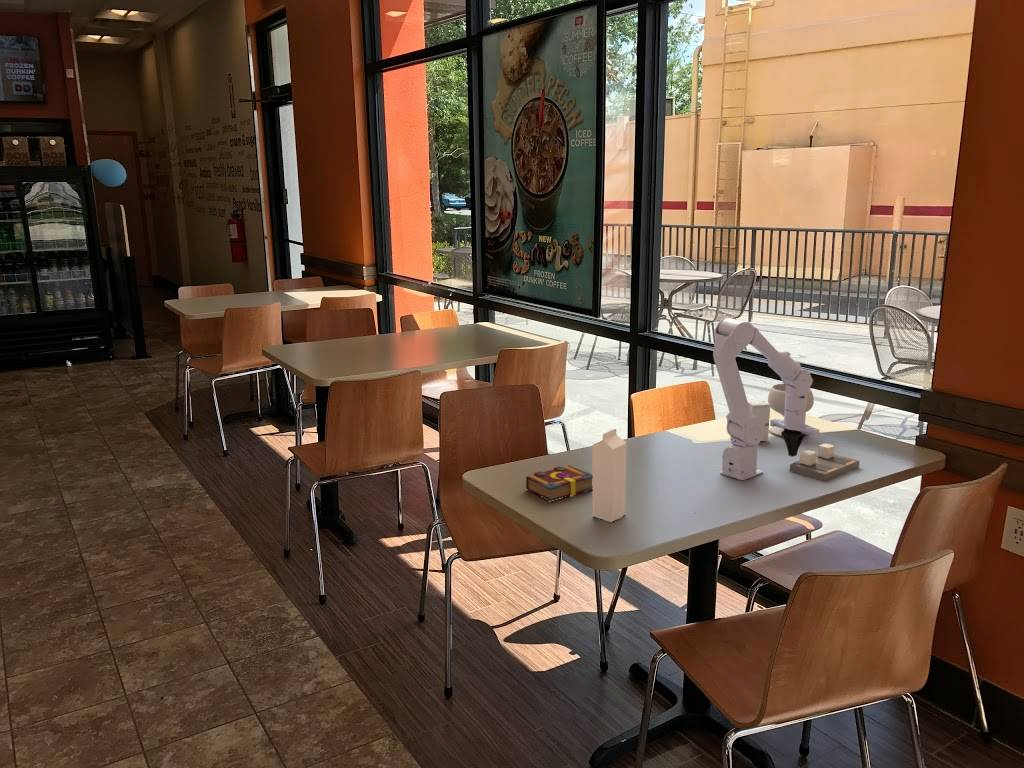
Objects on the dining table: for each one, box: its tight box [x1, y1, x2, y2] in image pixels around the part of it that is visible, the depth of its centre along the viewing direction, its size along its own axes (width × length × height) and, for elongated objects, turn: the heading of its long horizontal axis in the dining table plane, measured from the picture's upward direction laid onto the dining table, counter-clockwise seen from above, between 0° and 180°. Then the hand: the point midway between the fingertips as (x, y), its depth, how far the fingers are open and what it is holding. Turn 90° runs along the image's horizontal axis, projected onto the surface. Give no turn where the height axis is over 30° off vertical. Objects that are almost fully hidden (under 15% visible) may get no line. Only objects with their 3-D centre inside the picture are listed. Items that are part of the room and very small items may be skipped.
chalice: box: [767, 383, 815, 437], centre depth 266 cm, size 14×14×15 cm
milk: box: [592, 428, 627, 521], centre depth 202 cm, size 6×6×22 cm
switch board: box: [789, 453, 860, 482], centre depth 234 cm, size 17×11×2 cm, turn 128°
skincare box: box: [748, 400, 771, 442], centre depth 260 cm, size 6×4×12 cm
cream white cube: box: [799, 449, 818, 466], centre depth 232 cm, size 3×3×3 cm
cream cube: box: [817, 442, 835, 459], centre depth 237 cm, size 3×3×3 cm
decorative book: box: [525, 465, 593, 501], centre depth 222 cm, size 11×16×5 cm
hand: (792, 455), depth 236 cm, fingers closed
